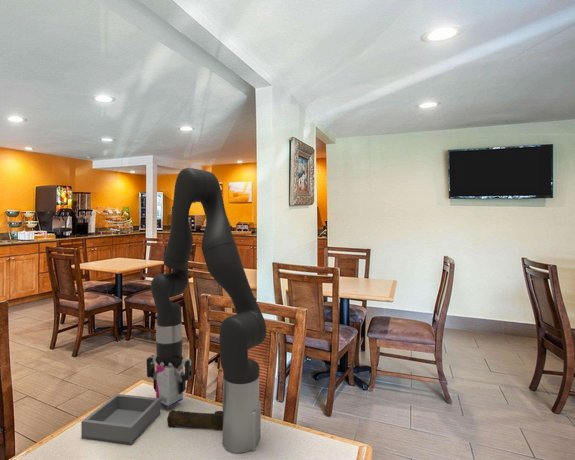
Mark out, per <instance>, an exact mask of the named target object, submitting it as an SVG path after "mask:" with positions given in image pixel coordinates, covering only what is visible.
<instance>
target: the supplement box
mask: <svg viewBox="0 0 575 460" xmlns="http://www.w3.org/2000/svg"><path fill="white" fill-rule="evenodd" d="M155 367H156V368H155V371H156V370H157V368H158V374H156V392H155V398H160V406H164V407H166V408H170V407H173V406H174V405H176V404H177V403H180V402H182V400H183V399H184V392H183V393H182V394H179V380H178V378H177V377H176V376H175V375H174V367H169V366H166V365H164V366H159V365H158V364H155ZM181 369H183V370H184V364H183V363H182V364H181V365H180V366H179V367H178V369H177V371H180V370H181ZM180 374H181V373H180Z"/></svg>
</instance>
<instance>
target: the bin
mask: <svg viewBox="0 0 575 460" xmlns="http://www.w3.org/2000/svg"><path fill="white" fill-rule="evenodd" d="M160 415H161V404H160V398H156V397H152V396H151V397H150V396H149V397H148V396H140V395H130V394H124V393H115V394H114V395H113V396H112V397H111V398H109V399H107V401H106V402H105V403H103V404H102V405H101V406H99V407H98V408H97V409H95V410H94V411H93V412H92V413H90V414H89V415H88V416H86V417H85V418H84V419H82V420H81V422H80V423H81V424H80V425H81V426H80V427H81V429H80V430H81V431H80V433H81V434H80V435H81V438H80V439H82V440H83V439H84V440H90V441H91V440H92V441H97V442H105V443H106V442H107V443H110V444H111V443H112V444H113V443H114V444H119V445H128V446H132V445H133V444H134V443H135V442H136V441H137V439H139V438H140V436H141V435H142V434H143V433H144V432H145V431H146V430H147V429H148V428H149V427H150V426H151V424H152V423H153V422H154V421H155V420H156V419H157V418H158V416H160Z"/></svg>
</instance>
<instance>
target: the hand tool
mask: <svg viewBox="0 0 575 460" xmlns="http://www.w3.org/2000/svg"><path fill="white" fill-rule="evenodd" d="M166 420H167V426H168V427H171V426H172V427H177V426H180V427H181V426H182V427H184V426H185V427H196V428H197V427H198V428H212V429H213V430H214V431H219V432H220V431H222V432H223V410H216V411H214V413H209V412H195V411H192V412H191V411H181V410H176V409H174V408H173V409H171V410H170V411H169V412H168V415H167V419H166Z"/></svg>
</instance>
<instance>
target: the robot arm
mask: <svg viewBox="0 0 575 460" xmlns="http://www.w3.org/2000/svg"><path fill="white" fill-rule="evenodd" d="M193 202H194V203H200V204H201V206H202V209H203V212H204V216H205V221H206V222H205V228H204V232H203V236H202V240H201V252H202V255H203V259H204V262H205V265H206V268H207V271H208V273H209V274H210V276H211V277H212V278H213V279H214V280H215V281H216V283H218V285H219V286H220V287H222V289H223V290H224V291H225V292H226V293H227V294H228V296H229V297H230V299H231V302H232V303H233V306H234V309H235V312H236V314H233V315H230V316H227V317H226V318H225V319H223V321H222V322H221V325H220V329H219V354H220V355H219V357H220V366H221V369H222V373H223V374H222V378H223V380H222V383H223V384H222V411H223V430H222V433H221V434H222V435H221V438H222V442H221V443H222V446H223V448H224V449H225V450H226V451H228V452H231V453H235V454H239V453H242V454H243V453H247V452H249V451H252V452H254V451H256V449H257V447H258V445H259V444H258V443H259V441H260V439H261V424H262V423H261V422H262V419H261V418H262V401H261V400H260V373H261V371H260V365H259V363H258V361H256V360H254V359H252V358H249V353H248V352H249V351H248V350H250V349H252V348H255V347H256V346H260V345H261V344H262V343H263V342H265V340H266V337H267V325H266V322H265V318H264V316H263V313H262V311H261V308H260V307H259V306H260V305H258V304H259V303H258V302H257V300H256V298H255V295H254V293H253V290H252V287H251V285H250V283H249V279H248V277H247V274H246V271H245V268H244V266H243V262H242V259H241V255H240V252H239V249H238V246H237V243H236V240H235V238H234V236H233V231H232V229H231V226H230V223H229V218H228V216H227V211H226V208H225V203H224V199H223V193H222V189H221V185H220V182H219V180H218V178H217V176H216V175H215V174H214V173H213V172H211V171H209V170H205V169H204V170H203V169H197V168H193V167H185V168H183V169H182V170H180V171H179V173H178V174H177V176H176V180H175V185H174V189H173V200H172V212H171V213H172V214H171V225H170V232H169V236H168V237H169V238H168V241H167V245H166V248H165V253H164V255H163V256H164V257H163V265H164V266H165V267H166V268H168V269H171V270H172V271H171V272H166V273H159V274H157V275H155V276H154V277H153V278H152V280H151V284H150V291H151V294H152V298H153V302H154V305H155V309H156V321H157V322H156V325H157V326H156V329H155V330H156V331H155V332H156V333H155V339H156V340H155V342H156V343H155V348H156V349H155V350H156V351H155V353H156V356H155V355H153V354H152V355H150V356H149V357H147V358H146V376H147V378H152V380H153V390H154V392H155V393H156V374H158V368H157V370H156V368H155V367H156V365H159V366H164V365H166V366H169V367H174V375H175V376H176V377H177V378H178V380H179V394H182V393H183V394H184V391H185V390H186V384H187V383H186V382H187V381H189V380H190V379H191V378H192V376H193V358H191V357H188V358H184V357H183V324H182V306H181V304H180V303H177V302H172V301H171V299H170V297H173V296H177V295H181V294H182V293H184V292H185V290H186V289H187V287H188V282H189V265H188V264H189V259H190V256H191V253H192V249H193V244H194V237H193V232H192V229H191V224H190V218H189V217H190V209H191V207H192V205H193ZM155 363H156V364H155ZM182 363H183V369H181V370H180V371H177V369H178V367H179V366H180V365H181V364H182ZM180 373H181V374H180Z"/></svg>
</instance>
